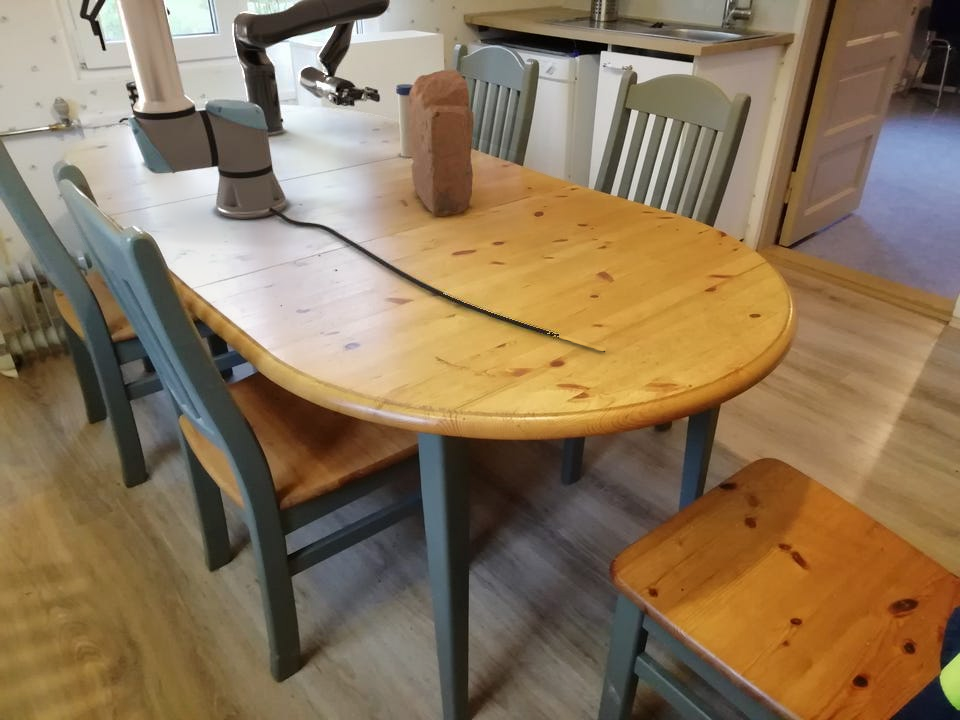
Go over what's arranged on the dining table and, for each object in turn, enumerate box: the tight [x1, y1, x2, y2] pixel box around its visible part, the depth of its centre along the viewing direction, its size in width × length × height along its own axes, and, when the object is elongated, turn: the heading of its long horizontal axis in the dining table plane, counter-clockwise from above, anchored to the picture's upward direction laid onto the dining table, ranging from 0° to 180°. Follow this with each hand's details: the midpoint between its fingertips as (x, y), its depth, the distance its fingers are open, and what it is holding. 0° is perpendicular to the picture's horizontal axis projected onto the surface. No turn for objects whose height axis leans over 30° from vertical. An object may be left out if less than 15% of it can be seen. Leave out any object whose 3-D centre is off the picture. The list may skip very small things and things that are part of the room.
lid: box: [395, 83, 413, 95], centre depth 185 cm, size 5×5×2 cm
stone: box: [409, 69, 475, 217], centre depth 155 cm, size 22×11×28 cm, turn 18°
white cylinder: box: [397, 94, 412, 158], centre depth 190 cm, size 4×4×18 cm
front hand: (133, 48), depth 174 cm, fingers open, 13 cm apart
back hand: (366, 100), depth 203 cm, fingers open, 8 cm apart
